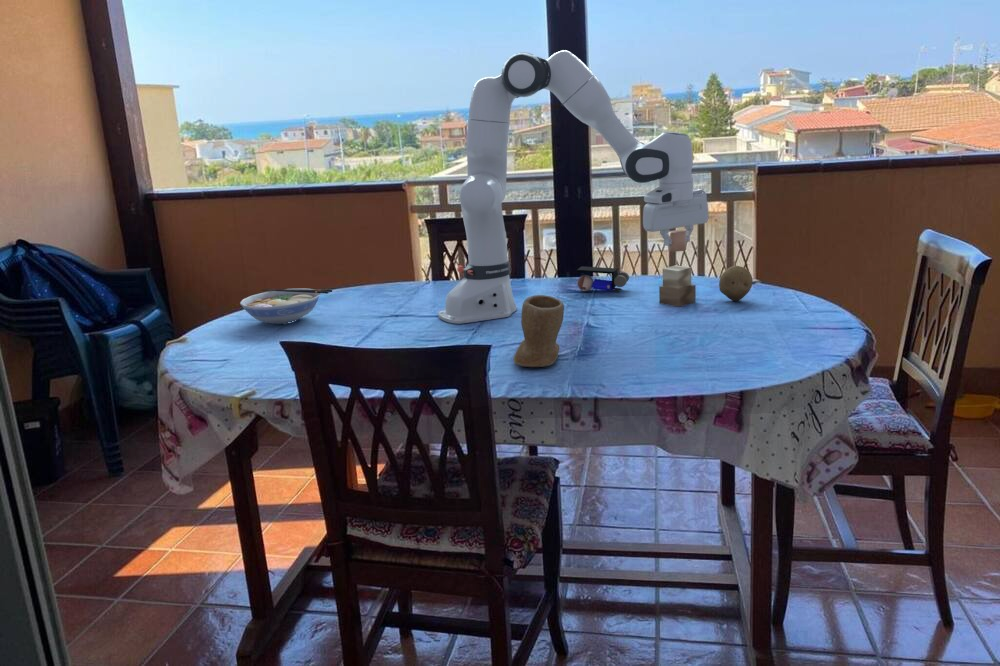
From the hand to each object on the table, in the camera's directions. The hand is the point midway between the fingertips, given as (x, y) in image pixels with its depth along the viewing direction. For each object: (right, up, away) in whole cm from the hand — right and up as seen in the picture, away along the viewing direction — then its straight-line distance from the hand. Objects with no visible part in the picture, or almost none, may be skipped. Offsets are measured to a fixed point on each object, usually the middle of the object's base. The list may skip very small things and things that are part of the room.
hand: (676, 243), depth 220 cm
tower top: (+1, -11, +3) cm, 12 cm away
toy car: (-17, -12, +24) cm, 32 cm away
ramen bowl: (-112, -21, +15) cm, 115 cm away
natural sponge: (+16, -16, +1) cm, 23 cm away
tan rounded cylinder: (0, -2, 0) cm, 2 cm away
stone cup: (-39, -31, -37) cm, 62 cm away
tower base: (+1, -16, +5) cm, 17 cm away
